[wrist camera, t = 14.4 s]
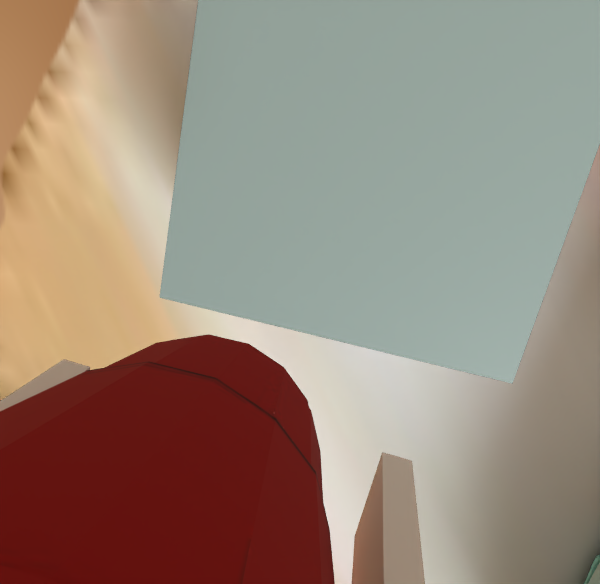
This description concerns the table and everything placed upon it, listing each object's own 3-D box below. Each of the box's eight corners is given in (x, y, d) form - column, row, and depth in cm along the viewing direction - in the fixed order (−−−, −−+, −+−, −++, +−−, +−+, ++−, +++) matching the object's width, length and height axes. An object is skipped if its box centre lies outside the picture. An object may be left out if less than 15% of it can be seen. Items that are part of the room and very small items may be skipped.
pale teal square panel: (167, 292, 26) (159, 297, 26) (219, -98, 21) (212, -110, 20) (506, 375, 25) (512, 383, 24) (648, -21, 20) (663, -31, 19)
